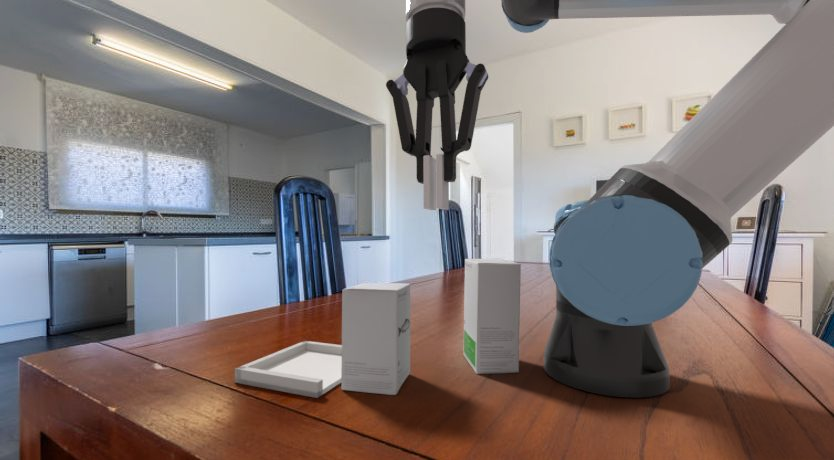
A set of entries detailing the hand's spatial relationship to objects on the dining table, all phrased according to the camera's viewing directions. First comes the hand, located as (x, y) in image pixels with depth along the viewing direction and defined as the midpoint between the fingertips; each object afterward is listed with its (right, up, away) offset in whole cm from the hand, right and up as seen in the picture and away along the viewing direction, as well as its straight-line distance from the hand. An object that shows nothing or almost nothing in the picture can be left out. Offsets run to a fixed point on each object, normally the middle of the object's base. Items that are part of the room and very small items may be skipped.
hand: (436, 208), depth 45 cm
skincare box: (+9, -23, +9) cm, 26 cm away
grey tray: (-18, -23, +6) cm, 29 cm away
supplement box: (-8, -23, +2) cm, 24 cm away
